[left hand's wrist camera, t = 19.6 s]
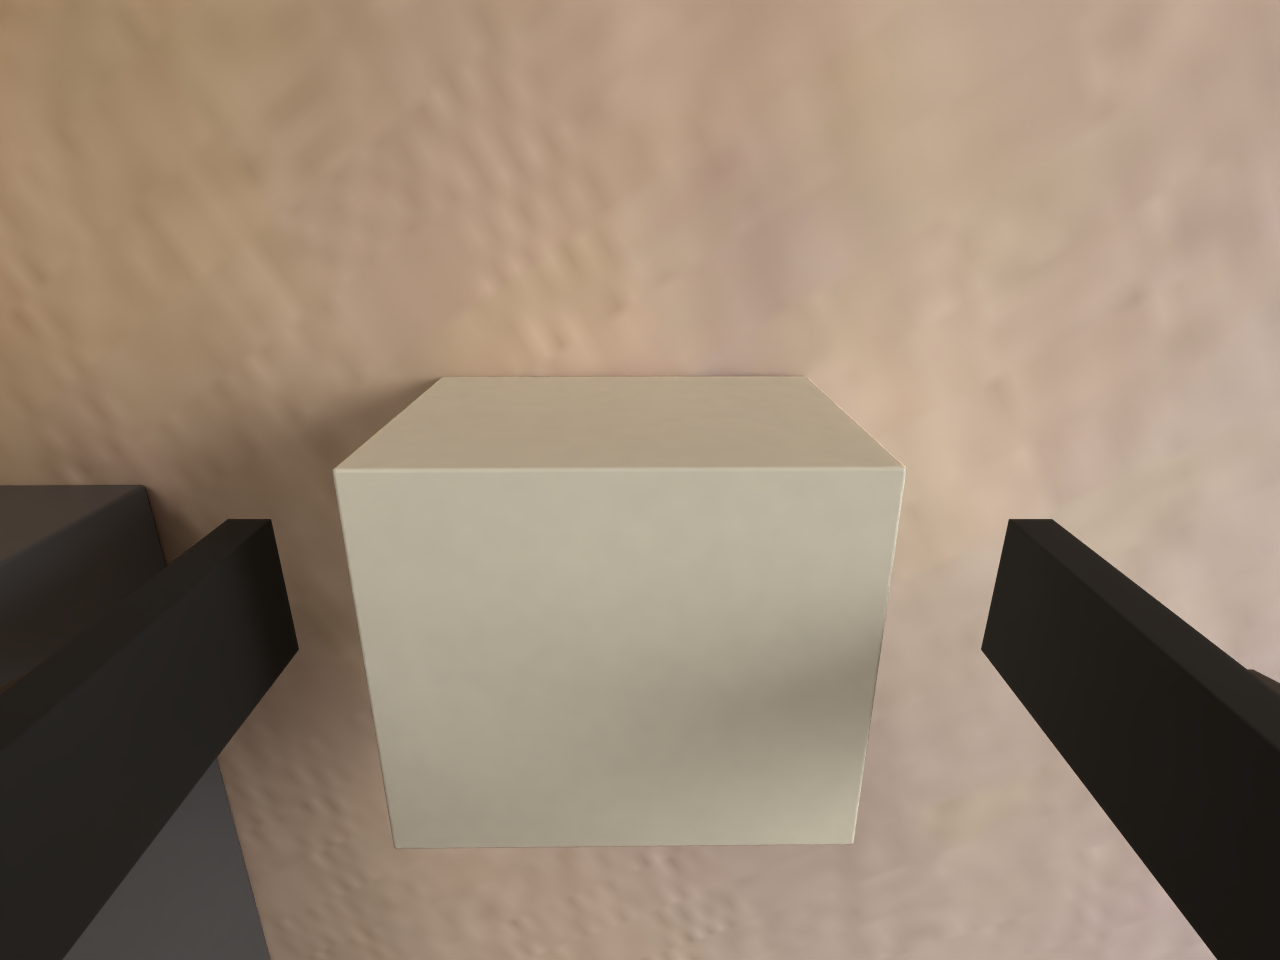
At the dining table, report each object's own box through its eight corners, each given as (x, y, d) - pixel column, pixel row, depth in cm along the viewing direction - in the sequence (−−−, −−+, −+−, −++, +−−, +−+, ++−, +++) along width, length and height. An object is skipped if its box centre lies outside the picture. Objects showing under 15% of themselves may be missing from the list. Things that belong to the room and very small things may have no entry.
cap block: (440, 376, 15) (329, 469, 10) (807, 375, 15) (908, 467, 10) (468, 649, 18) (392, 850, 12) (783, 647, 18) (854, 845, 12)
